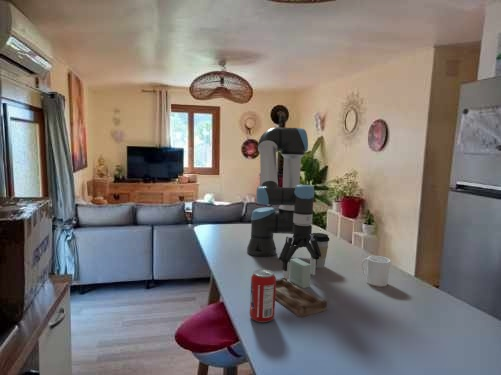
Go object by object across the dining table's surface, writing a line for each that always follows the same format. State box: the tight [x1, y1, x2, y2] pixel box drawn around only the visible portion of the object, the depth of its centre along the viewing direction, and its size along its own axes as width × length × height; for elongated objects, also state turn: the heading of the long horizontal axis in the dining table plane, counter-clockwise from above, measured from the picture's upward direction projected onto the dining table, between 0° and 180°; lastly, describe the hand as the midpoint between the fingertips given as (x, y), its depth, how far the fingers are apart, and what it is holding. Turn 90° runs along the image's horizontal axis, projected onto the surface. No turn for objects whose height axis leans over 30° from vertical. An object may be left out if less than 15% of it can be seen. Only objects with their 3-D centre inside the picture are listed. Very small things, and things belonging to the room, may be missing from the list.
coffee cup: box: [309, 232, 330, 269], centre depth 160 cm, size 9×9×15 cm
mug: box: [361, 255, 391, 288], centre depth 142 cm, size 11×9×10 cm
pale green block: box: [288, 257, 312, 289], centre depth 139 cm, size 9×4×9 cm, turn 30°
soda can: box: [249, 268, 277, 323], centre depth 108 cm, size 8×8×15 cm
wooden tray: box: [275, 277, 328, 318], centre depth 124 cm, size 24×11×3 cm, turn 30°
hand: (299, 276), depth 139 cm, fingers open, 12 cm apart
